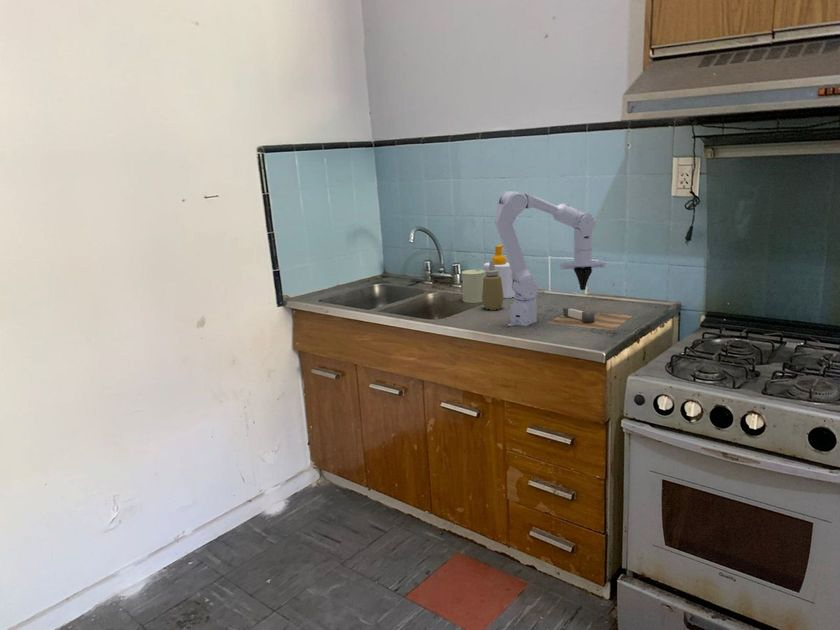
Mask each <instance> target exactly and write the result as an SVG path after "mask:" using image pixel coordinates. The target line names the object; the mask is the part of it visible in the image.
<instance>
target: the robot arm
mask: <svg viewBox="0 0 840 630" xmlns="http://www.w3.org/2000/svg"><path fill="white" fill-rule="evenodd" d="M496 203H497V208H496V214H495V219H494V223H495V227H496V229H497V234H498V235H499V238H500V241H501V245H503V251H504V253H505V257H506V260H507V263H509V265H510V268H511V271H512V274H511V278H512V289H513V291H514V292H515V295H514V297H513V298H514V300H513V302H512V303H511V305H510V307H509V323H508V324H507V326H508V327H514V326H525V327H527V326H529V325H531V324H535V323H537V321H538V320H537V296H538V294H539V293H540V292H539V291H540V288H539V285H538V283H537V282H536V281H535V279H534V278H533V275H532V274H531V271H529V269H528V266H527V263H526V261H525V257H524V254H523V252H522V248H521V245H520V243H519V239H518V237H517V234H516V230H515V227H514V225H513V224H514V222H515V220H516V218H517V217H518V216H519V215H520V214H521V213H522V212H523V211H524V210H526V209H527V210H529V209H532V208H534V209H536V210H539V211H541V212H544V213H548V214H550V215H552V217H553V219H554V220H555V221H557V222H559V223H561V224H564V225H567V226H569V227H572V228H573V230H574V233H573V234H574V236H573V238H574V239H573V242H574V243H573V248H574V249H573V261H568V262H560V267H559V268H560V270H570V269H573V271H574V273H575V275H576V278H577V281H578V283H579V284H578V285H579V289H580V290H581V291H586V287H587V284H588V281H589V278H590V276H591V274H592V273H593V268H602V269H603V268H606V267H607V266H606V261H605V260H593V256H592V255H593V249H592V248H593V230H594V228H595V227H596V220H595V218H594V216H593V214H591V213H589V212H588V213H587V212H583V210H582V208H581V209H580V208H578V209H577V208H575V207H572V206H570V205H571V203H570V204H569V203H567V202H564V203H560V204H557V205H556V204H554V203H552V202H550V201H547V200H545V199H543V198H540V197H539V196H536V195H533V194H529V193H524V192H522V191H513V190H506V191H504V192H503V193H501V195H500V197H499V198H498V200H497V202H496Z"/></svg>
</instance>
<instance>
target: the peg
mask: <svg viewBox="0 0 840 630" xmlns="http://www.w3.org/2000/svg"><path fill="white" fill-rule="evenodd" d="M562 311H563V312H562V314H563V315H565V316H569V317H573V318H577V319H581V320H582V322H585V323H592V322H594V321H595V311H594V310H584V311H583V310H579V309H575V308H571V307H567V306H566V307H563V308H562Z"/></svg>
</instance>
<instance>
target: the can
mask: <svg viewBox="0 0 840 630" xmlns="http://www.w3.org/2000/svg"><path fill="white" fill-rule="evenodd" d="M484 277H485V271H484V269H467V270H463V271H461V280H462V302H464V303H467V304H468V303H469V304H477V303H478V304H479V303H483V301H482V292H483V278H484Z"/></svg>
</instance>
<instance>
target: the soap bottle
mask: <svg viewBox="0 0 840 630" xmlns="http://www.w3.org/2000/svg"><path fill="white" fill-rule="evenodd" d="M494 248H495V249H494V250H495V252H494V253H495V254H494V256H492V258H491V261H492V260H493V261H494V265H495V269H496V270H498V273H499V274H498V275H499V276H500V277H501V280H502V288H503V296H504V299H513V298H514V295H515V292H514V291H513V289H512V278H511V274H512V271H511V268H510V265H509V262H507V257H506V255H503V249H504V247H503V245H502V244H499V245H495V246H494ZM489 265H490V262H486V263H484V264H483V270H484V271H485V276H487V275H486V270H489ZM512 297H513V298H512Z"/></svg>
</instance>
